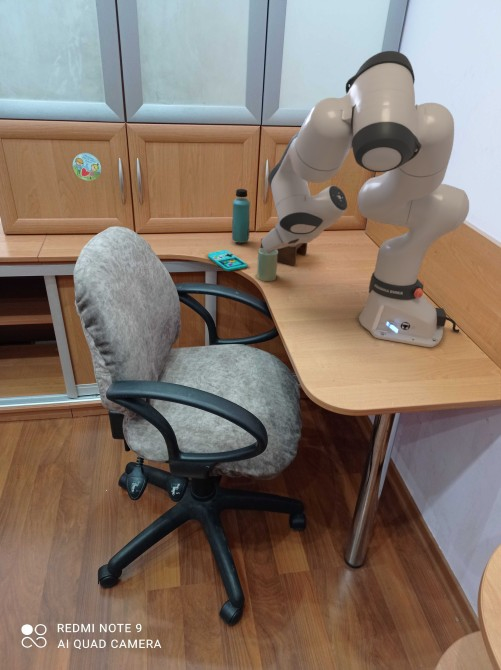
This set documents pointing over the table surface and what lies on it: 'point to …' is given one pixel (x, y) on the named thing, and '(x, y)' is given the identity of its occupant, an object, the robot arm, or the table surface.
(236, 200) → the beverage bottle
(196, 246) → the table surface
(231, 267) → the handheld gaming console
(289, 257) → the stand
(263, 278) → the tumbler
